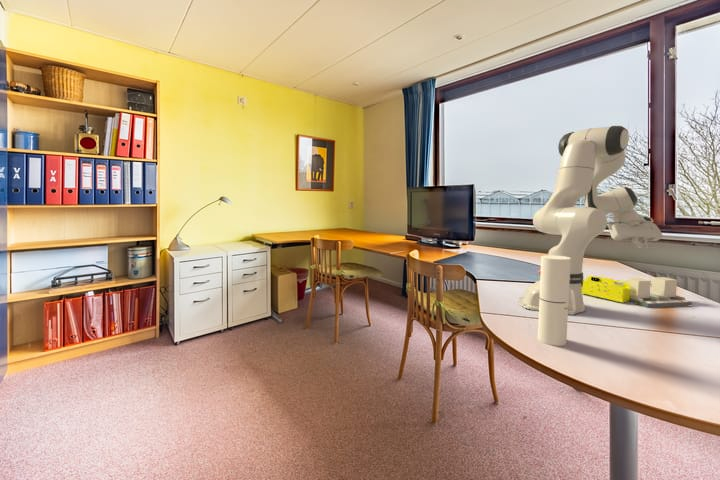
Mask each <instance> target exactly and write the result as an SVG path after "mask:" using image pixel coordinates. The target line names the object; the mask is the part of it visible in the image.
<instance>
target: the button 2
mask: <svg viewBox="0 0 720 480" xmlns="http://www.w3.org/2000/svg"><path fill="white" fill-rule="evenodd" d="M677 287H678V279H675V278H670V277H665V276H657V277H656V276H655V277H652V279H651V286H650V293H653V294H656V295H660V296H664V297H676V295H677V289H678V288H677Z"/></svg>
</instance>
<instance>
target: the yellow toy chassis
mask: <svg viewBox="0 0 720 480" xmlns="http://www.w3.org/2000/svg"><path fill="white" fill-rule="evenodd" d="M583 294H585V295H586V296H588V297H590V296H591V297H595V298H602V299H603V300H610V301H612V302H614V303H625V302H628V301H629V296H630V285H629V284H627V281H625V280H619V279H614V278H608V277H602V276H596V275H589V276H586V278H585V279H583V287H582V295H583ZM627 300H628V301H627Z"/></svg>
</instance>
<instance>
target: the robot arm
mask: <svg viewBox="0 0 720 480" xmlns="http://www.w3.org/2000/svg"><path fill="white" fill-rule="evenodd" d="M629 140H630V136H629V132H628V129H627V128H626V127H625V126H622V125H611V126H604V127H595V128H586V129H581V130H578V131H571V132H568V133H566V134H564V135H562V137H561V138H560V140H559V143H558V147H557V149H558V153H559V155H560V156H561V159H560V162H559V167H558V172H557V177H556V182H555V186H554V189H553V192H552V194H551V195H550V197H549V199H548V201H547V202H545V204H544V205H542V207H541V208H540V209H538V210H536V212H535V213H534V215H533V217H532V223H533V227H534V228H535V230H536V231H538V232H541V233H544V234H547V235H556V236H561V239H560V241H559V243H558V244H557V245H555V246H553V247H551V248H550V249H549V250H548V253H547V255H556V256H565V257H570V258H571V264H570V283H569V302H568V315H570V316H571V315H572V316H573V315H576V314H578V313H583V312H585V311H586V308H585V302H584V298H583V297H584V296H583V293H582V287H583V280H584V272H583V264H584V257H585V251H586V249H587V247H588V246H589V244H590V243H591V241H592V240H594V239H595V238H596V237H598V236H599V235H601V234H603V232H604V231H605V230H606V228H608V231H609V234H610V237H611V239H612V240H614V241H625V242H626V241H627V242H629V241H630V242H631V243H633V244H634V245H636V247H637V248H638V249H643V250H644V249H648V248H649V245H648V244H647V243H648V242H658V241H659V240H661V239H662V238H663V233H662V231H661V229H660V228H659V227H658V225H657V224H655V223H654V219H653V218H652V217H647V216H644V215H642V214H639V213H638V212H637V211H636V210H635V209H634V207H635V206H636V205H637V203H638V200H639V199H638V197H637V195H636V193H635V192H634V191H633V189H632V188H630V187H628V186H620V187H618V188H615V189H614V188H613V189H611V190H609V191H606V192H603V193H600V194H598V187H599V185H600V184H601V183H602V182H603V181H605V180H606V179H608V178H609V177H611V176H612V175H614V174H616V173H617V172H618V171H619V170H620V169H621V168H622V167H623V166H624V164H625V162H626V152H625V150H626V149H627V147H628V145H629V144H628V143H629ZM583 197H584V206H575V205H576V203H577V202H578V201H579V200H580V199H582V198H583ZM607 214H610V215H611V216H612V218H613V221H609V222H608V218H607ZM538 274H539V275H541V268H540V269H539V270H538ZM539 298H540V279H539V280H537V281H535V282H534V283H532V284H530V285H528V286H527V287H526V289H525V291H524V296H520V297H519V298H518V299H517V303H518V302H519V303H518V304H519V306H520V307H522V306H523V307H522V308H524V309H526V308H527V309H526V310H529V309H530V310H531V311H537V312H539Z"/></svg>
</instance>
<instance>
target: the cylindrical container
mask: <svg viewBox="0 0 720 480" xmlns="http://www.w3.org/2000/svg"><path fill="white" fill-rule="evenodd" d="M570 264H571V258H570V257H565V256H556V255H548V254H547V255H546V254H544V255H540V269H541V275H540V274H539V275H540V277H539V280H540V298H539V311H538V324H537V325H538V328H537V340H539V341H540V342H542V343H543V344H546V345H550V346H555V347H556V346H557V347H563V346H566V345H567V341H568V340H567V338H568V337H567V335H568V322H569V321H568V319H569V318H568V317H569V314H568V302H569V283H570Z"/></svg>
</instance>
